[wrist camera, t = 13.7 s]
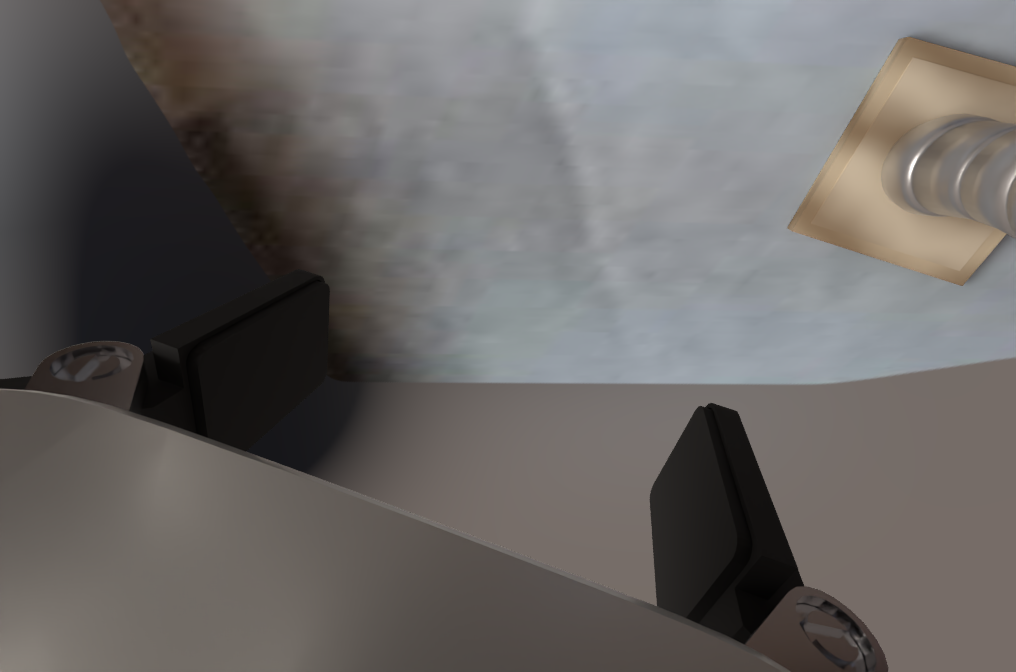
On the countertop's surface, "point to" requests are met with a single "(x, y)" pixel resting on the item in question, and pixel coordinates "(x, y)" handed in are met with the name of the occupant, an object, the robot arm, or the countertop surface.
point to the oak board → (867, 141)
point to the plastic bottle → (956, 170)
